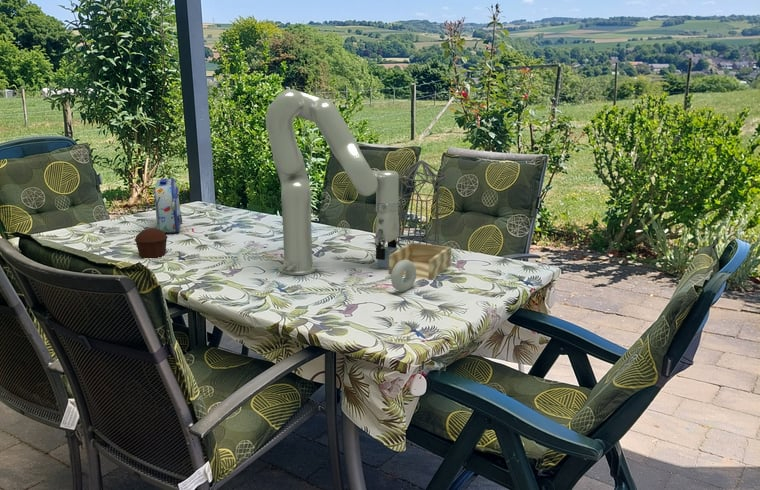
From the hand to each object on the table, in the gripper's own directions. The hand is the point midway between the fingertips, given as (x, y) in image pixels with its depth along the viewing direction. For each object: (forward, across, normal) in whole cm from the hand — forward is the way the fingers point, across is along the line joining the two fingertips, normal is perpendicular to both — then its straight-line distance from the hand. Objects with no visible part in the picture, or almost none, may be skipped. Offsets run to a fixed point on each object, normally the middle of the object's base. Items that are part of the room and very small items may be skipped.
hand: (386, 255), depth 230 cm
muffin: (+5, -23, +84) cm, 87 cm away
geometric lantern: (+4, +20, -4) cm, 21 cm away
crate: (+4, +1, -12) cm, 13 cm away
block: (+4, 0, 0) cm, 4 cm away
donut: (+4, -21, -15) cm, 26 cm away
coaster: (+4, 0, 0) cm, 4 cm away
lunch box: (+5, +12, +107) cm, 108 cm away
